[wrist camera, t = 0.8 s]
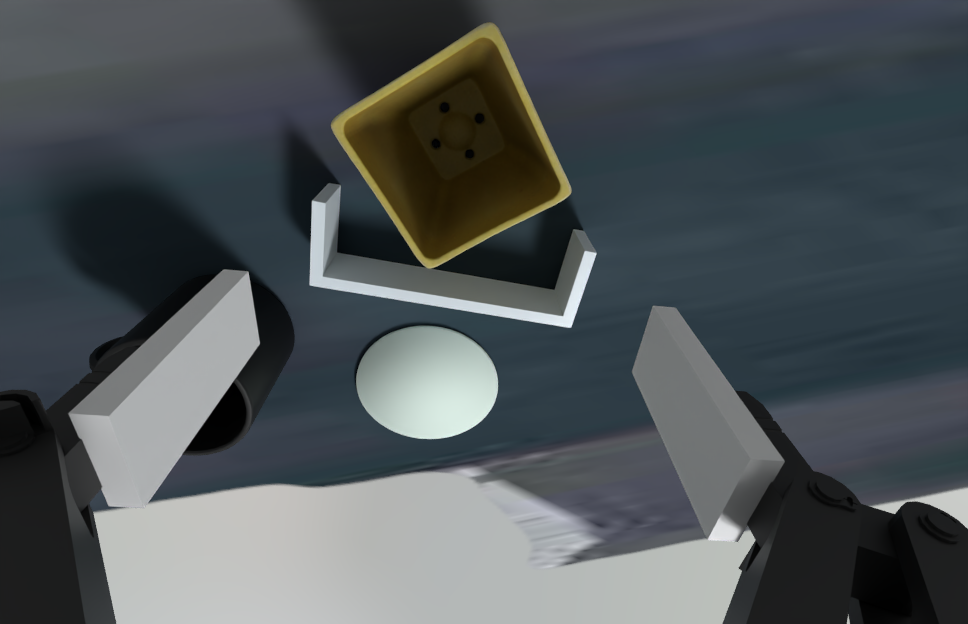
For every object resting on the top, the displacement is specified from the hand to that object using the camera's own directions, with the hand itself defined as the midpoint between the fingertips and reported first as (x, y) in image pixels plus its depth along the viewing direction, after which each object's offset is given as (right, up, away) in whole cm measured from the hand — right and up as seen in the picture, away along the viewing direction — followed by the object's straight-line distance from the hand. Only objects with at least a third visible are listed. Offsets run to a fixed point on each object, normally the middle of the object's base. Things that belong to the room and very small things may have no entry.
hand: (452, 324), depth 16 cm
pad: (-4, -6, +25) cm, 26 cm away
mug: (-20, 0, +22) cm, 30 cm away
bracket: (-1, +5, +19) cm, 20 cm away
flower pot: (-1, +12, +15) cm, 19 cm away
